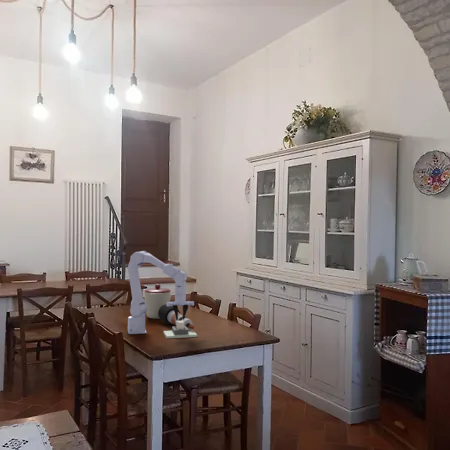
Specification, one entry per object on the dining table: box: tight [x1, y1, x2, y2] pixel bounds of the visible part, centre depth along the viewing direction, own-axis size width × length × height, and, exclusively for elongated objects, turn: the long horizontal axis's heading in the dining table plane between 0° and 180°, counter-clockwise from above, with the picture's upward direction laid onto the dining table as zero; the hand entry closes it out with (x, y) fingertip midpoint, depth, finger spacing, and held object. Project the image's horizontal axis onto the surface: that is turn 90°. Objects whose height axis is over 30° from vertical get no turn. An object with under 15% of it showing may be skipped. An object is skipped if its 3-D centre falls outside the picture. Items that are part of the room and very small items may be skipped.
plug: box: [175, 321, 184, 330], centre depth 253 cm, size 4×5×6 cm
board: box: [163, 325, 198, 339], centre depth 253 cm, size 16×12×4 cm
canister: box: [142, 283, 173, 320], centre depth 300 cm, size 18×18×21 cm
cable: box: [158, 304, 195, 330], centre depth 271 cm, size 10×34×10 cm, turn 31°
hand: (180, 319), depth 253 cm, fingers open, 3 cm apart
